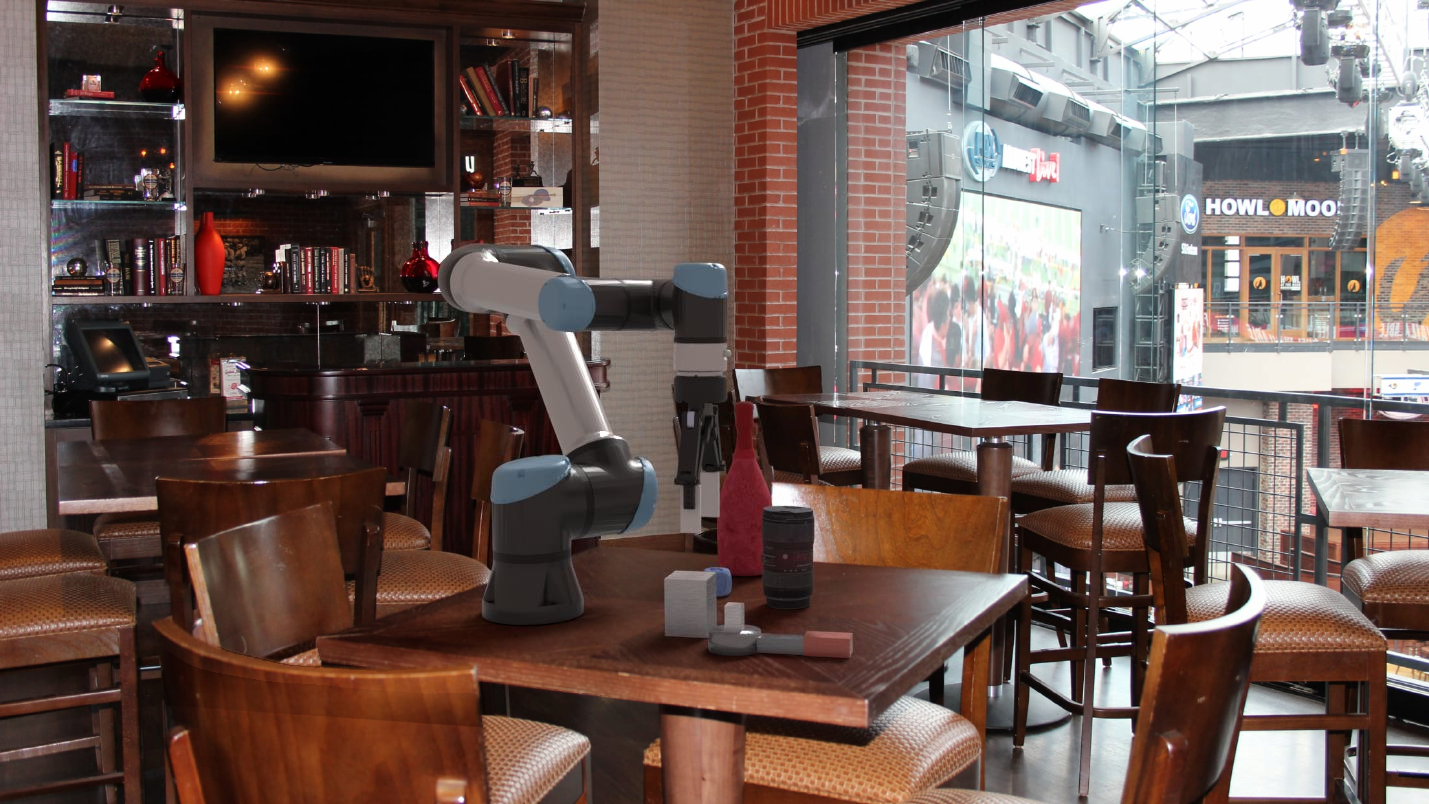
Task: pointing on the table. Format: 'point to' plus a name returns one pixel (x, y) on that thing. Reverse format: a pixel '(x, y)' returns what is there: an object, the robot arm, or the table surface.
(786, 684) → the table surface
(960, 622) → the table surface
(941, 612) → the table surface
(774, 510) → the camera lens
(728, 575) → the decorative dice
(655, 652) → the table surface
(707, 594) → the light grey block
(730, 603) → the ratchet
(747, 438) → the wine bottle
